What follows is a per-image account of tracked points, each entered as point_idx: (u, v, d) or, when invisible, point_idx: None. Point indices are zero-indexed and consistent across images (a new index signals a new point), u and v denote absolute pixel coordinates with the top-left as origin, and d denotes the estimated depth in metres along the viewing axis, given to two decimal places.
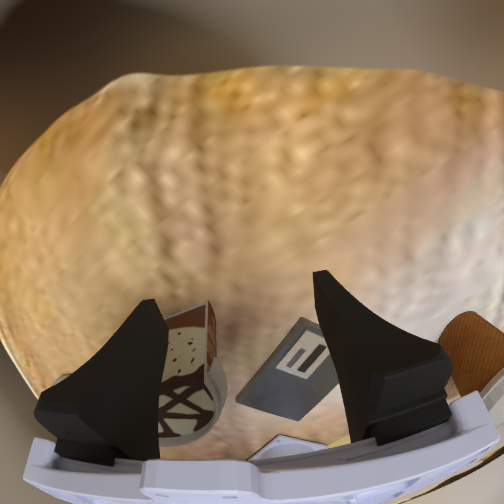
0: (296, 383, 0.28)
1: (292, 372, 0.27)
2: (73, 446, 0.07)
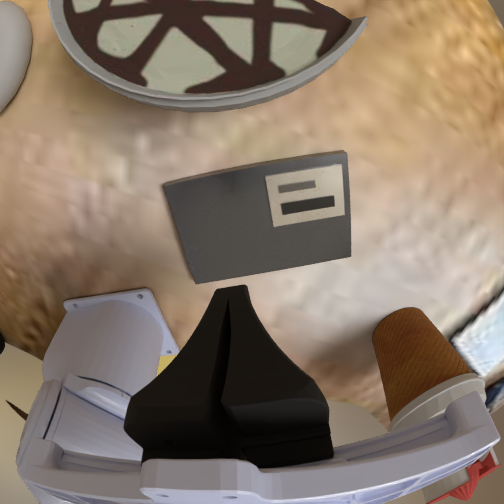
0: (257, 222, 0.21)
1: (272, 201, 0.20)
2: (168, 456, 0.07)
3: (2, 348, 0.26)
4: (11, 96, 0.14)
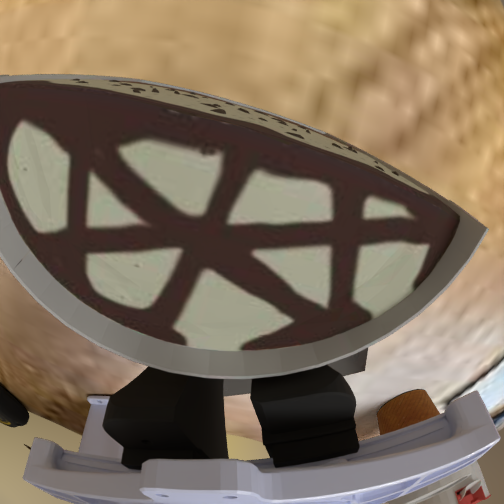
0: None
1: None
2: (146, 455, 0.07)
3: (27, 419, 0.25)
4: None
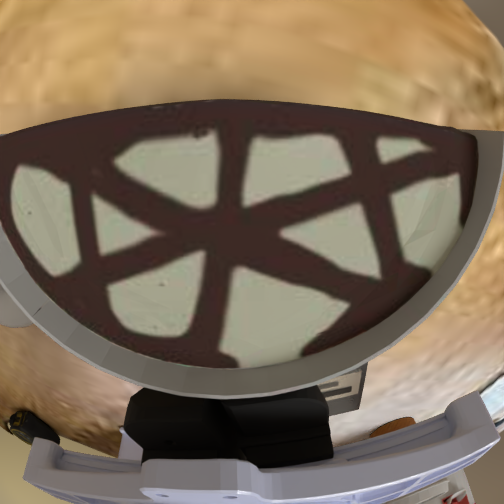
0: None
1: None
2: (168, 456, 0.07)
3: (58, 443, 0.29)
4: None
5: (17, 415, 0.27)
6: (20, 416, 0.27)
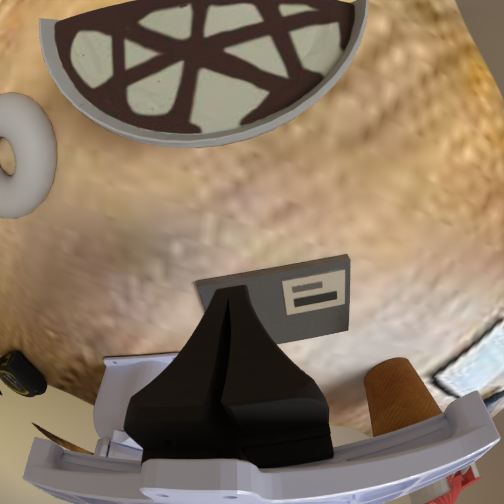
0: (274, 312, 0.25)
1: (287, 298, 0.24)
2: (168, 456, 0.07)
3: (45, 388, 0.30)
4: None
5: (6, 356, 0.28)
6: (8, 357, 0.28)
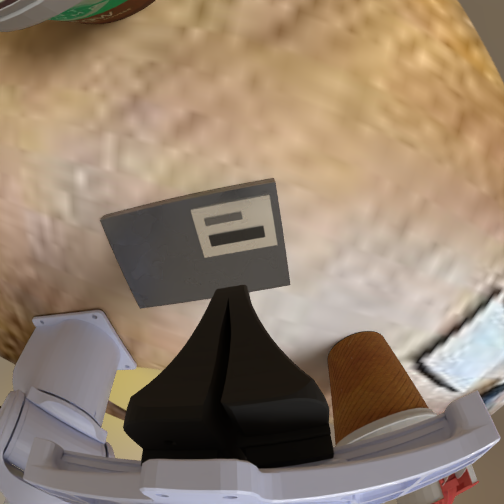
0: (188, 253, 0.21)
1: (200, 233, 0.20)
2: (168, 456, 0.07)
3: None
4: None
5: None
6: None
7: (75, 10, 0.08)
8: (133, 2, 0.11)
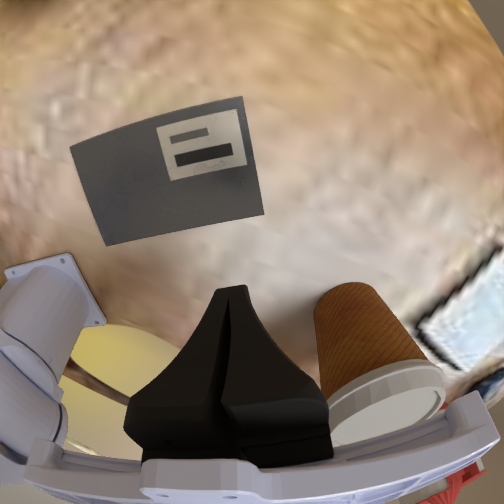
0: (154, 177, 0.19)
1: (166, 153, 0.18)
2: (168, 456, 0.07)
3: None
4: None
5: None
6: None
7: None
8: None
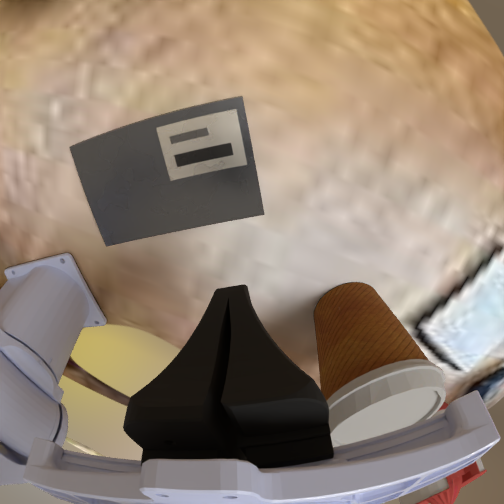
0: (154, 177, 0.19)
1: (166, 153, 0.18)
2: (168, 456, 0.07)
3: None
4: None
5: None
6: None
7: None
8: None
